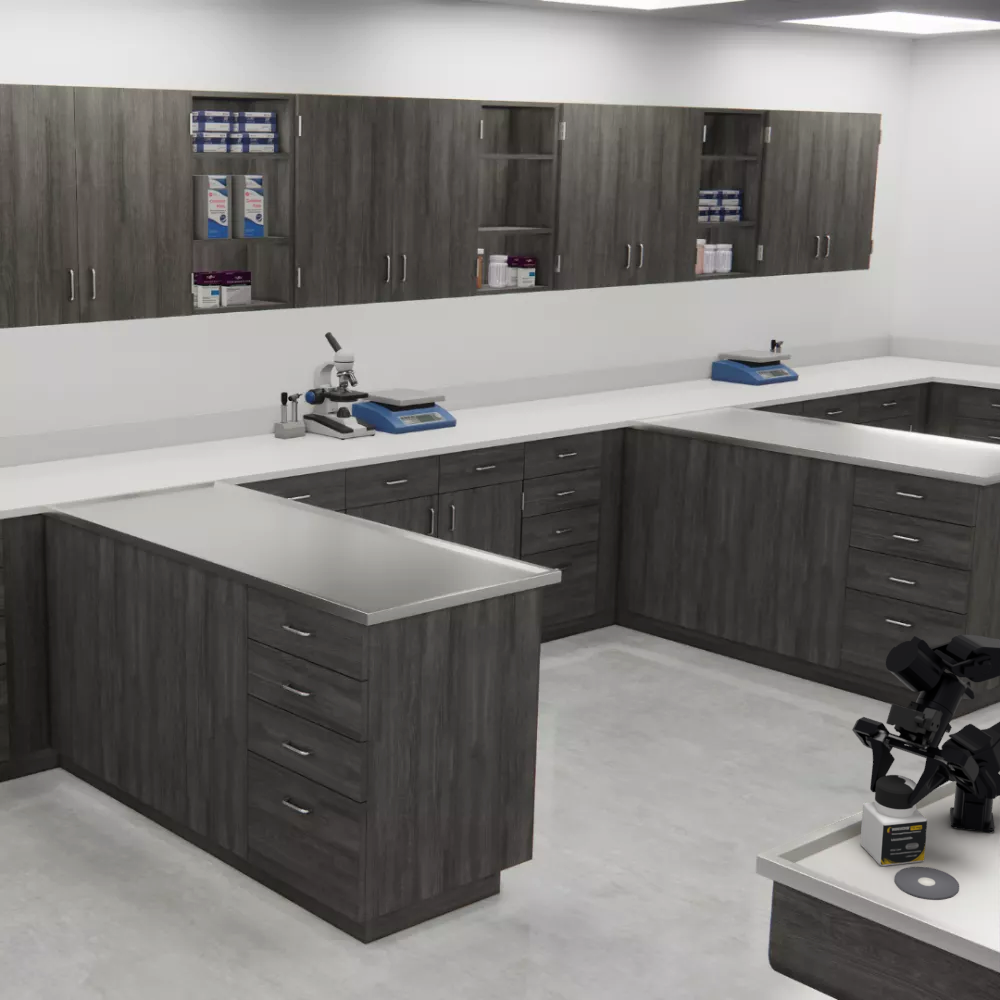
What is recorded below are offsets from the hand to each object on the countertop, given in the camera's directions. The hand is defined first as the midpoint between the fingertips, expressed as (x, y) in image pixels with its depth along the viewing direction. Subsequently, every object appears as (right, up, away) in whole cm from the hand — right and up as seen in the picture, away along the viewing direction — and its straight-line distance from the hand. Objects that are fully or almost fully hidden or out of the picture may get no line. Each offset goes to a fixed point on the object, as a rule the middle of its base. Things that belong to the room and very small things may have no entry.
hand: (891, 797), depth 215 cm
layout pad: (+4, -11, -5) cm, 13 cm away
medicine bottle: (+1, -9, +3) cm, 10 cm away
